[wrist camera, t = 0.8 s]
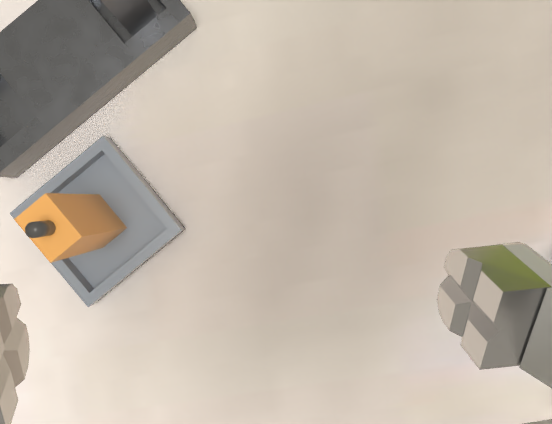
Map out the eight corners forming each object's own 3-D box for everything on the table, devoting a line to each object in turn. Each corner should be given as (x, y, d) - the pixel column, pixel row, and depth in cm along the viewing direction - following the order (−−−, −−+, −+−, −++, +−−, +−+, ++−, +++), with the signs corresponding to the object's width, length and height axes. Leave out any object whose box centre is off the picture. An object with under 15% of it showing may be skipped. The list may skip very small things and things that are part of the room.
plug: (99, 194, 51) (30, 192, 37) (127, 227, 51) (69, 239, 37) (75, 214, 51) (-4, 220, 37) (103, 247, 51) (35, 266, 37)
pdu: (133, -50, 51) (121, -72, 47) (197, 27, 51) (190, 12, 47) (-47, 102, 51) (-75, 93, 47) (16, 177, 52) (-6, 176, 47)
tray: (110, 138, 52) (103, 135, 49) (185, 228, 52) (181, 230, 50) (20, 212, 52) (9, 213, 50) (96, 302, 52) (88, 307, 50)
